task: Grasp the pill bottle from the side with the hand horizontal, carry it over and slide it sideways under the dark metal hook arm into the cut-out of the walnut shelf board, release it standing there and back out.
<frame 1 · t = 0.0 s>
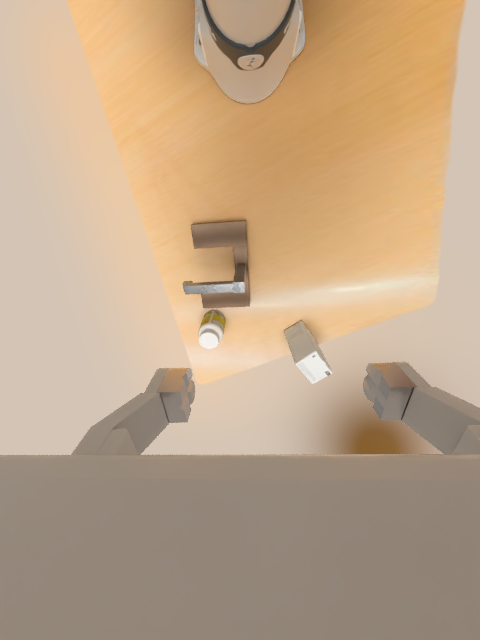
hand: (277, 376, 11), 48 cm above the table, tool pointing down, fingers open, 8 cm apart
cutout shelf: (223, 265, 57), on the table
pill bottle: (214, 319, 64), on the table
skincare box: (300, 334, 65), on the table
hook arm: (218, 275, 49), in the cutout shelf
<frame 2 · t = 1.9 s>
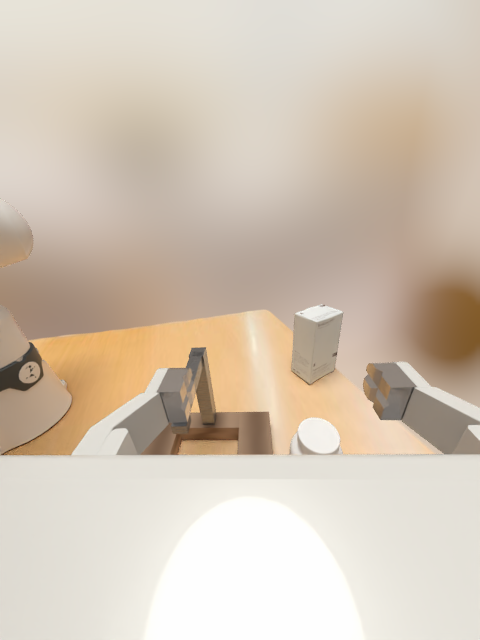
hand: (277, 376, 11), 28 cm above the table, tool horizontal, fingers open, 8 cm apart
cutout shelf: (207, 457, 36), on the table
pill bottle: (310, 487, 31), on the table
skincare box: (312, 371, 52), on the table
hook arm: (199, 422, 32), in the cutout shelf
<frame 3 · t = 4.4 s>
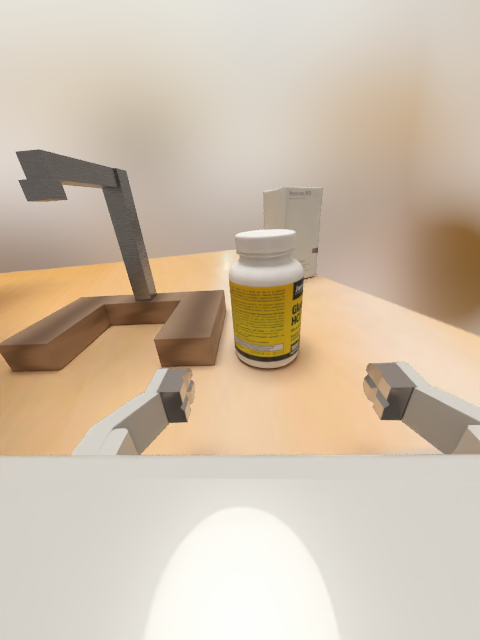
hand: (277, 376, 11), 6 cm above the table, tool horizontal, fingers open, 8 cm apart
cutout shelf: (137, 335, 27), on the table
pill bottle: (267, 352, 23), on the table
skincare box: (289, 278, 44), on the table
hook arm: (113, 264, 23), in the cutout shelf
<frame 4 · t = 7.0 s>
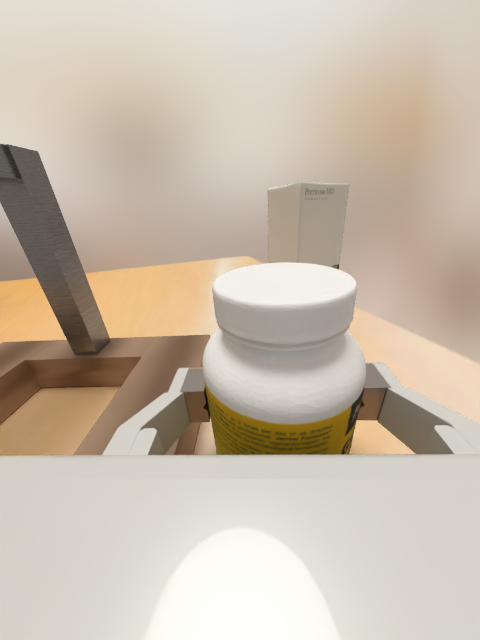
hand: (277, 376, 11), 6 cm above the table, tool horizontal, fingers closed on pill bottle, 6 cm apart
cutout shelf: (71, 414, 17), on the table
pill bottle: (277, 472, 13), on the table, touching gripper
skincare box: (300, 301, 34), on the table
hook arm: (6, 315, 13), in the cutout shelf
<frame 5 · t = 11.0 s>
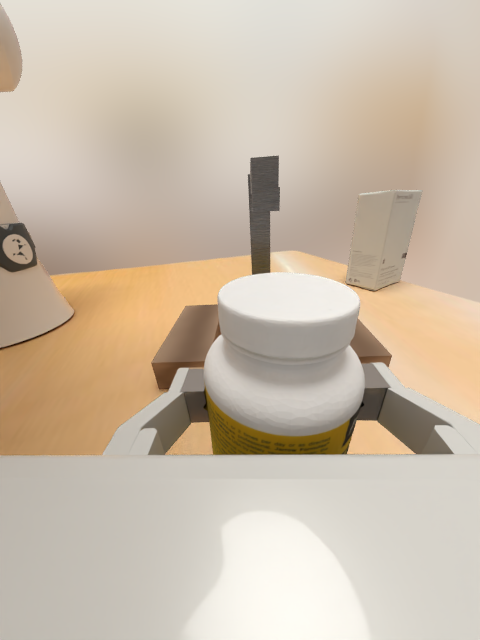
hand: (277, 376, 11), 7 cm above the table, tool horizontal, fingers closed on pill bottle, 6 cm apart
cutout shelf: (264, 347, 26), on the table
pill bottle: (272, 477, 13), point 1 cm above the table, touching gripper
skincare box: (371, 283, 42), on the table
hook arm: (262, 275, 22), in the cutout shelf
when the fingers open (7 cm above the table, at t = 14.5 s): pill bottle moves 1 cm, on the table.
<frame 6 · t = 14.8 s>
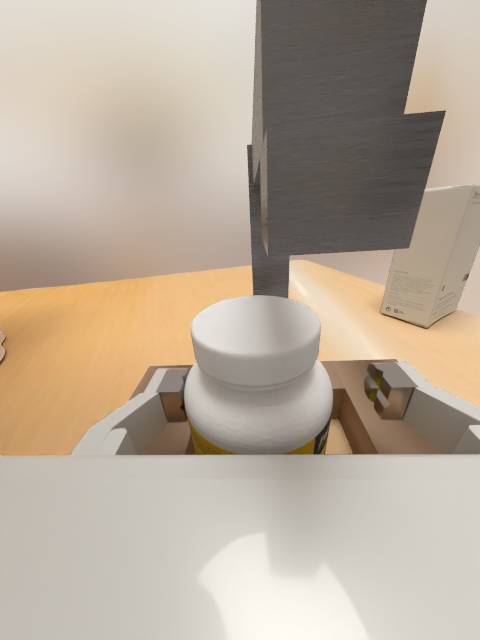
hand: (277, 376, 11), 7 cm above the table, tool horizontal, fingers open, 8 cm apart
cutout shelf: (275, 458, 15), on the table
pill bottle: (260, 487, 13), on the table, touching gripper
skincare box: (415, 313, 31), on the table
hook arm: (277, 354, 10), in the cutout shelf
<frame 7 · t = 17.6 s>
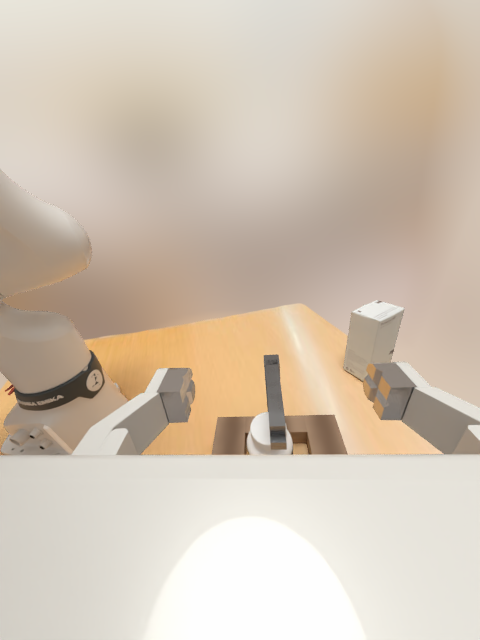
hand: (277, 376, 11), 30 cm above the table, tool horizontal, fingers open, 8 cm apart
cutout shelf: (277, 461, 36), on the table
pill bottle: (271, 473, 35), on the table
skincare box: (365, 368, 51), on the table
hook arm: (276, 430, 31), in the cutout shelf
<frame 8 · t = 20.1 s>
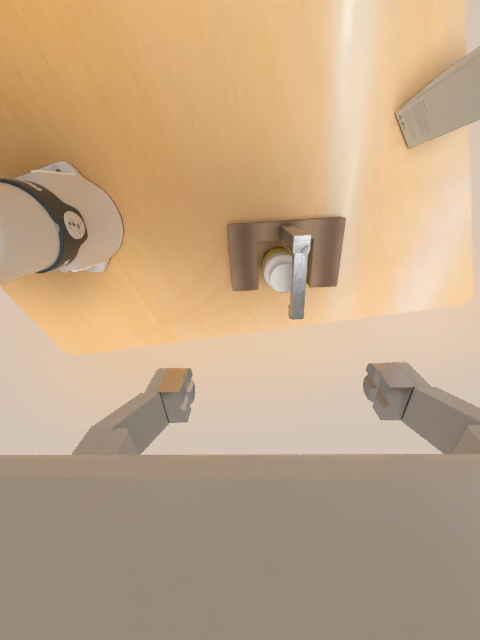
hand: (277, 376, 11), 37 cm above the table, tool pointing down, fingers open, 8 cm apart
cutout shelf: (282, 254, 44), on the table
pill bottle: (277, 262, 45), on the table
skincare box: (427, 109, 34), on the table
hook arm: (289, 266, 37), in the cutout shelf
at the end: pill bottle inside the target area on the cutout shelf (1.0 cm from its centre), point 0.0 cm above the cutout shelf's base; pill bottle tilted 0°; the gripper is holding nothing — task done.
